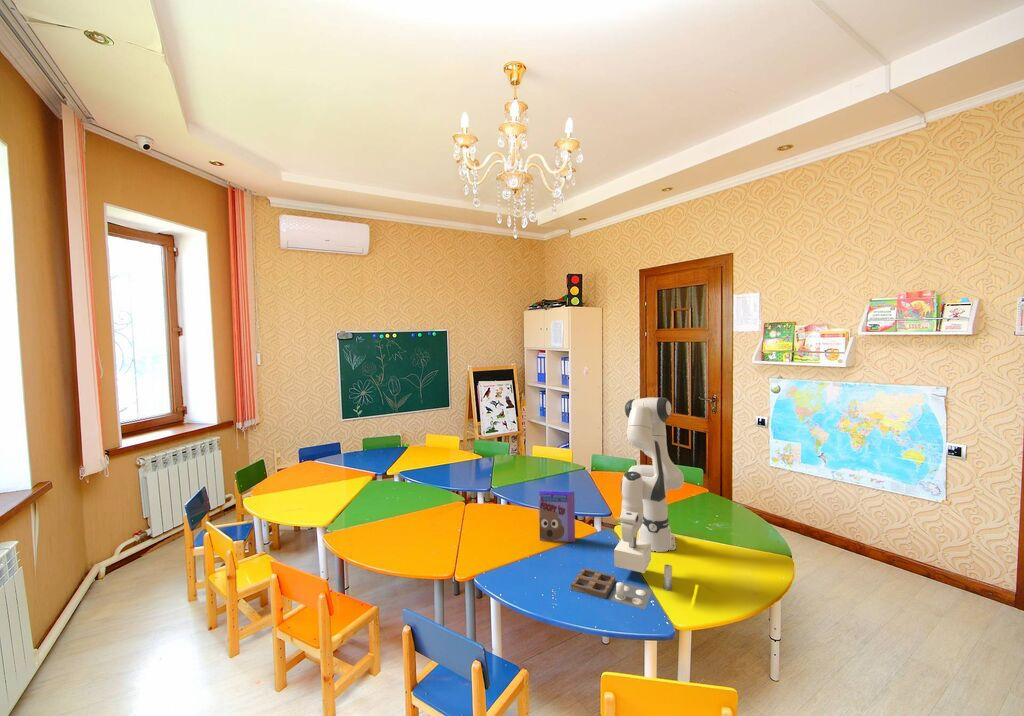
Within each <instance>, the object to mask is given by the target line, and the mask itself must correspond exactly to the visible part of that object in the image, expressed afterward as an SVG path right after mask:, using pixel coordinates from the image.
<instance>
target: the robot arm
mask: <svg viewBox="0 0 1024 716" xmlns="http://www.w3.org/2000/svg"><path fill="white" fill-rule="evenodd" d="M624 406H625V407H624V413H625V416H626V417H627V426H626V438H627V441H628V442H629V443H630V445H632V447H634V448H635V449H638V450H640V451H642V452H643V453H644V455H645V456H647V457H648V458H650V459H651V461H652V465H649V464H635V465H631V467H630V468H629V469H628V470H627V471H626V472H625V473H624V474H623V476H622V479H621V482H620V492H621V497H622V500H621V511H620V516H619V522H620V528H621V530H620V531H621V539H623V541H625V542H629V546H630V547H633V546H634V542H633V539H634V537H636V541H640V542H645V543H650V544H651V552H654V551H656V552H657V553H665V552H669V551H675V549H676V550H677V544H676V543H675V542H676V536H675V534H673V533H672V531H671V525H670V521H669V515H668V502H667V500H666V498H667V494H668V491H672V490H674V491H675V490H680V489H681V488H682V487H683V485H684V483H685V477H684V476H685V475H684V474H683V472H682V470H681V469H680V468H679V467H678V466H677V465H675V463H674V462H673V461H672V460H671V458H670V456H669V452H668V445H667V429H666V428H667V427H666V423H665V422H666V421H667V420H668V419H669V418H670V417H671V415H672V404H671V402H670V400H669V399H668V398H667V397H643V398H642V397H641V398H637V399H636V398H633V399H628V400H627V402H626V403H625V405H624ZM637 536H638V537H637ZM668 550H669V551H668ZM656 552H655V553H656Z"/></svg>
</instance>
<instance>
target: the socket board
mask: <svg viewBox="0 0 1024 716" xmlns="http://www.w3.org/2000/svg"><path fill="white" fill-rule="evenodd" d="M615 582H616V575H613V574H608V573H605V572H600V571H596V570H593V569H587V568H584V567H582V569H581V570H580V571H579V573H578V574H577V576H575V578H574V580H573V581H572V582H571V584H570V591H571V593H572V592H573V591H574V592H575V591H576V592H579V593H582V594H586V595H589V596H590V595H591V596H593V597H597V598H601V599H604V600H606V598H607V597H608V595H609V593H610V592H611V590H612V588H613V586H614V585H615Z"/></svg>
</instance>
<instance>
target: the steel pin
mask: <svg viewBox="0 0 1024 716" xmlns="http://www.w3.org/2000/svg"><path fill="white" fill-rule="evenodd" d="M663 568H664V569H663V589H664V590H665V591H667V592H670V591H671V592H672V590H673V566H672V565H671V564H664V565H663Z"/></svg>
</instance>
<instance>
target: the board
mask: <svg viewBox="0 0 1024 716" xmlns="http://www.w3.org/2000/svg"><path fill="white" fill-rule="evenodd" d="M653 592H654V590H653V589H649V588H645V587H642V586H637V585H633V584H630V583H625V582H622V581H616V584H615V585H614V587H613V590H612V591H611V593H610V594H609V596H608V598H607V600H608V601H612V602H616V603H619V604H623V605H626V606H630V607H632V608H637V609H640V610H644V611H646V609H647V606H648V604H649V602H650V599H651V596H652V594H653Z"/></svg>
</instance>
